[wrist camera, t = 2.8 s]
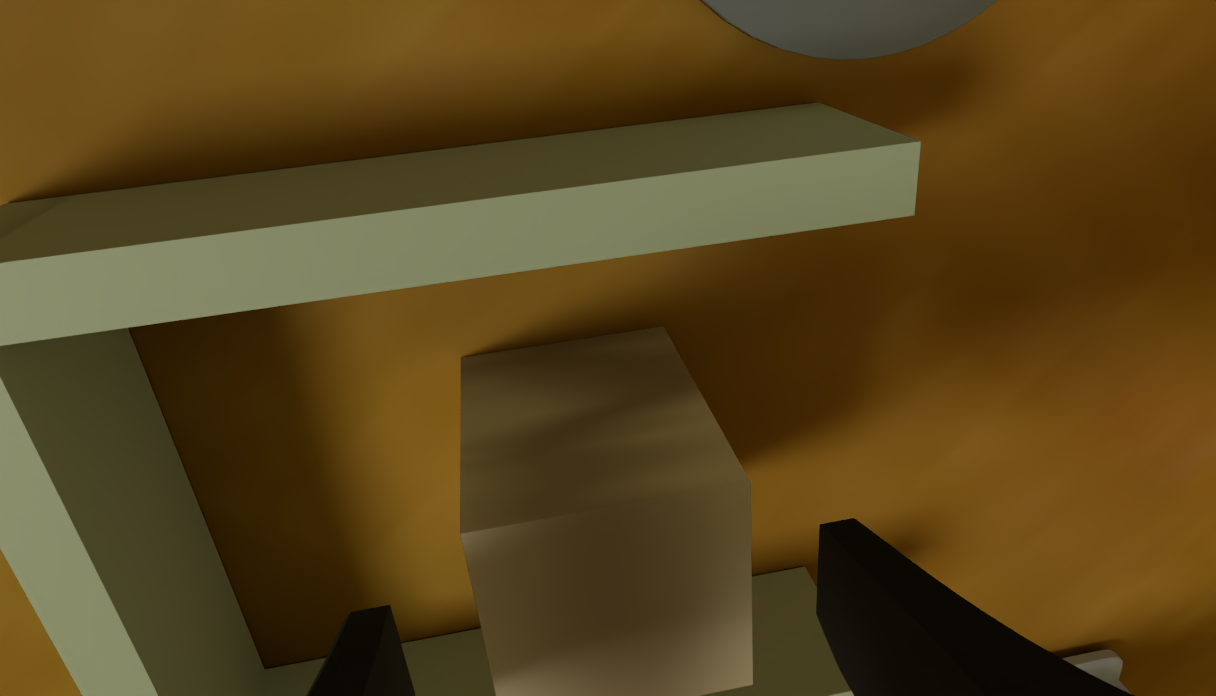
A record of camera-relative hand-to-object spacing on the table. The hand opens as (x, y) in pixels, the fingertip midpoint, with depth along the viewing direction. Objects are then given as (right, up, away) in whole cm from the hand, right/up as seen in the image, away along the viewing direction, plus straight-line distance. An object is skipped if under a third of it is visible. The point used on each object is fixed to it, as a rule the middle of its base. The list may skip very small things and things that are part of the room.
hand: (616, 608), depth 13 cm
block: (-1, +3, +5) cm, 6 cm away
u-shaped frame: (-3, +2, +5) cm, 6 cm away
